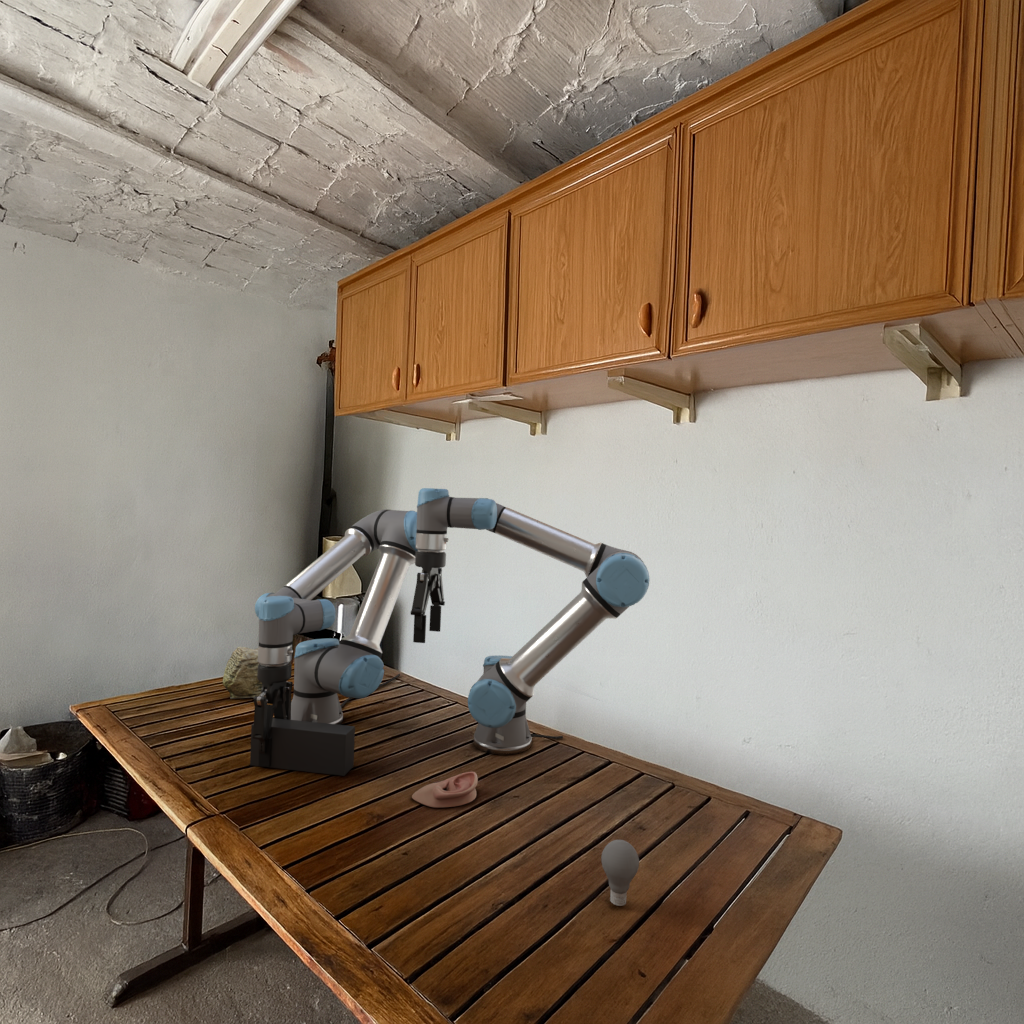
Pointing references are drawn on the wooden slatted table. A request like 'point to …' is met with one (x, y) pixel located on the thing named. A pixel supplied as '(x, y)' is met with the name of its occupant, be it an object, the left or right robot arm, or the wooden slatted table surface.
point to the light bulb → (619, 868)
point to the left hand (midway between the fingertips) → (271, 760)
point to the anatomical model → (449, 791)
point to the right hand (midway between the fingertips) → (427, 636)
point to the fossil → (242, 674)
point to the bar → (308, 747)
